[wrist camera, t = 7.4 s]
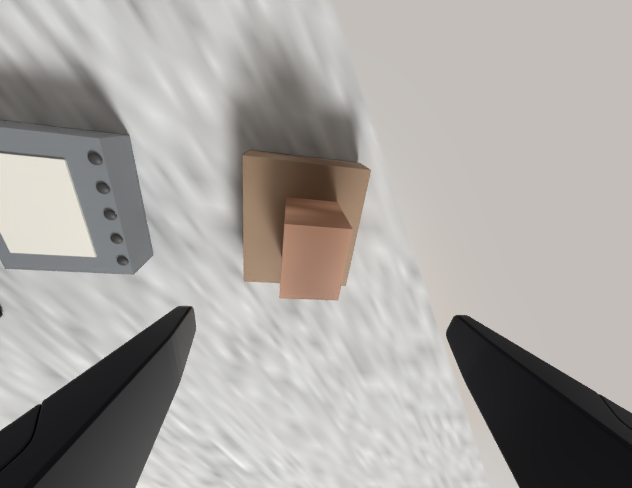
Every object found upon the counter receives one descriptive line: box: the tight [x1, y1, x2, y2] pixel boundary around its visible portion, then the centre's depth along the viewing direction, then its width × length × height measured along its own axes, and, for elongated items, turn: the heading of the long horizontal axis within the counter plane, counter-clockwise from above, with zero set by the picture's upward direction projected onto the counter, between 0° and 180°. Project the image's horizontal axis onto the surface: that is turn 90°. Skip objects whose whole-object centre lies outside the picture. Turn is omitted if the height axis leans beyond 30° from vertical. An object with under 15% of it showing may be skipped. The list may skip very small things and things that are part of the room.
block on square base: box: [242, 150, 371, 300], centre depth 14 cm, size 7×8×6 cm
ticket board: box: [0, 120, 153, 275], centre depth 14 cm, size 7×8×3 cm
